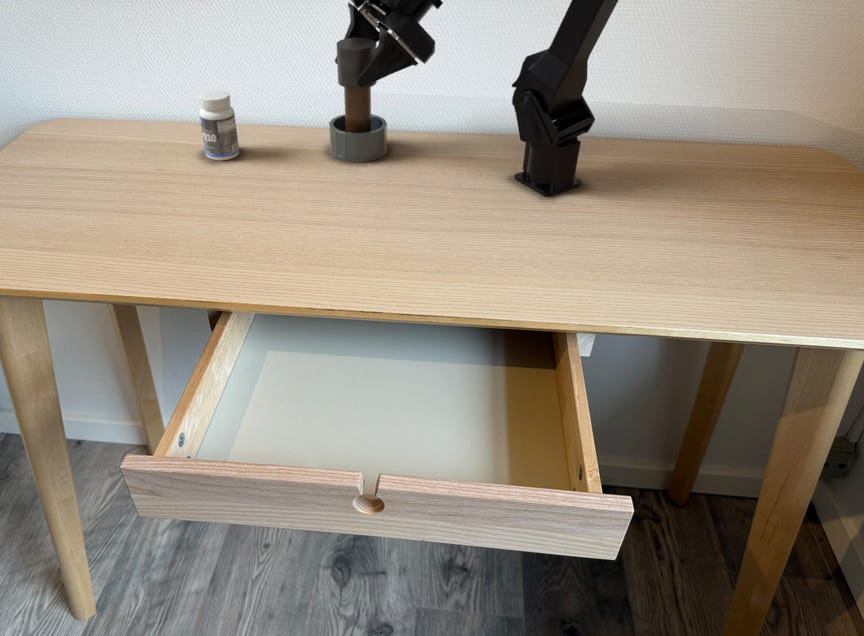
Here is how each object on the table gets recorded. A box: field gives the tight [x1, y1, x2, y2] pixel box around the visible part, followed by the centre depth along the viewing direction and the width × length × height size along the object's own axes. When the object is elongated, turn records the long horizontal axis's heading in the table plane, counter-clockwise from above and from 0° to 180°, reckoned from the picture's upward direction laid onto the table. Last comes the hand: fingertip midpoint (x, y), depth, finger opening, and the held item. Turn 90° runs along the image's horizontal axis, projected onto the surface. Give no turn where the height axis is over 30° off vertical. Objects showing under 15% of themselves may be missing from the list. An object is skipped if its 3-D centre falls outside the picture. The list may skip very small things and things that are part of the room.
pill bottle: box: [198, 89, 240, 161], centre depth 98 cm, size 5×5×8 cm
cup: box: [328, 113, 388, 163], centre depth 101 cm, size 8×8×4 cm
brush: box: [336, 38, 378, 133], centre depth 97 cm, size 5×5×14 cm
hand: (347, 74), depth 95 cm, fingers open, 9 cm apart
